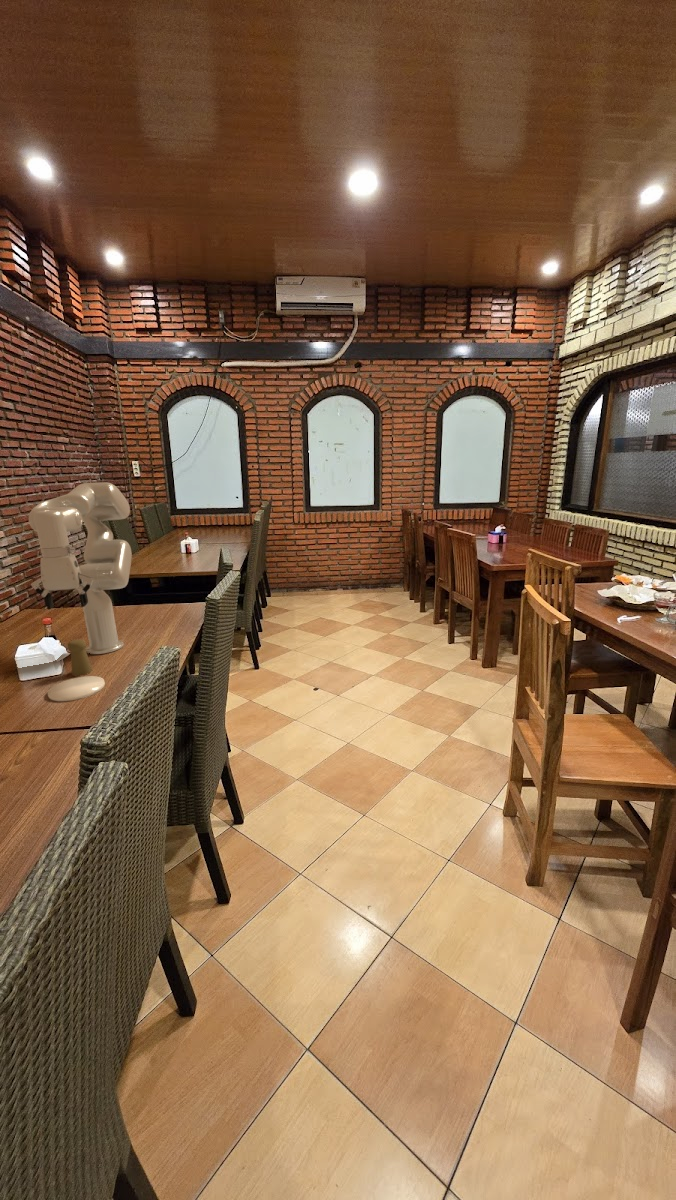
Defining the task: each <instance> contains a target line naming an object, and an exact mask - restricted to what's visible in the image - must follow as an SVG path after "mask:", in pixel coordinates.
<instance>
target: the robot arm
mask: <svg viewBox="0 0 676 1200" xmlns="http://www.w3.org/2000/svg"><path fill="white" fill-rule="evenodd" d="M130 513H131V508H130V504H129V502H128V500H127V498H126V497H125V495H124V494H123V493H122V492H121V490H120V489H119V488H118V487H117V486H116V485H115V484H113V483H111V482H107V481H106V482H84V483H81V484H78V485H77V486H76V487H74V488H73V489H72V490H70V491H69V492H68V493H67V494H64V495H59V496H57V497H54V498H51V499H47V500H44V501H42V502H40V503H38V504H37V505H36V506H34V507H33V508H32V509H31V511H30V512H29V515H28V523H29V526H30V528H31V529H32V530H34V531H35V532H36V533H37V537H38V542H39V547H40V552H41V555H42V557H41V558H40V576H41V577H39V578H38V579H36V580H35V581H33V582H31V583H30V586H31V587H32V588H33V589H34V590H35V592H36V593H37V594H38V595H40V596H41V597H42V598H43V600H44V605H45V607H46V608H47V610H48V611H50V610H52V609H53V608H54V607H55V604H54V600H53V596H52V594H50V593H51V592H53V591H65V590H66V591H67V590H76V591H78V593H79V595H78V596H79V601H80V606H81V607H82V611H83V617H84V622H85V627H86V631H87V632H86V633H87V639H88V643H89V645H86V648H85V650H86V653H87V654H89V653H90V655H102V654H103V655H104V654H109V653H113V652H116V651H118V650H120V649H122V648H123V647H124V646H125V645H124V642H123V640H121V639H119V637H118V632H117V625H116V620H115V619H116V618H115V614H114V607H113V603H112V602H113V601H112V599H111V597H110V596H109V595H108V594H107V593H106V590H120V589H123V588H126V587H127V585H128V584H129V579H130V573H131V566H132V565H131V564H132V559H133V557H132V556H133V555H132V554H133V553H132V548H131V545H130V544H129V542H128V541H127V540H124V539H114V534H113V532H112V530H111V529H110V528H109V527H108V526H107V525H106V524H105V523H103V522H102V521H117V520H118V521H119V520H120V521H121V520H124V519H127V518H128V517H130ZM83 524H84V526H85V528H86V530H87V537H86V542H85V547H84V551H83V560H84V562H85V564H81V565H79V563H78V560H77V558H76V555H75V554H72V553H74V552H76V548H75V547H73V546H71V545H70V542H69V537H68V532H69V533H70V532H75V531H77V530H79V529H80V528H81V527H82V525H83ZM41 583H42V587H43V588H42V587H40V584H41Z"/></svg>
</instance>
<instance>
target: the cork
mask: <svg viewBox="0 0 676 1200" xmlns="http://www.w3.org/2000/svg"><path fill="white" fill-rule="evenodd" d="M86 647H87V642H86V641H85V640H84V639H82V638H77V639H73V640H71V641H69V642H68V643H67V649H68V651H69V652H70V659H71V662H70V663H71V675H72V676H73V677H81V676H80V675H83V676H86V675H88V674H87V673H89V674H91V673H92V672H93V671H92V670H93V668H92V665H91V662H90V660H89V656H88V653H87V652H86ZM91 671H92V672H91ZM90 672H91V673H90ZM85 674H86V675H85Z"/></svg>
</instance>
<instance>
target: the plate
mask: <svg viewBox="0 0 676 1200" xmlns="http://www.w3.org/2000/svg"><path fill="white" fill-rule="evenodd" d="M105 685H106V684H105V679H104V678H102V677H101V676H96V675H90V676H89V675H88V676H86V675H84V676H77V677H75V678H70V679H67V680H64V681H61V682H59V683H56V684H54V685H53V686H52V687H50V688H49V689H48V691H47V697H48V699H49V700H51V701H54V702H71V701H77V700H81V699H85V698H88V697H91V696H92V695H95V694H97V693H99V692H100V691H102V689H103V688H105Z"/></svg>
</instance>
